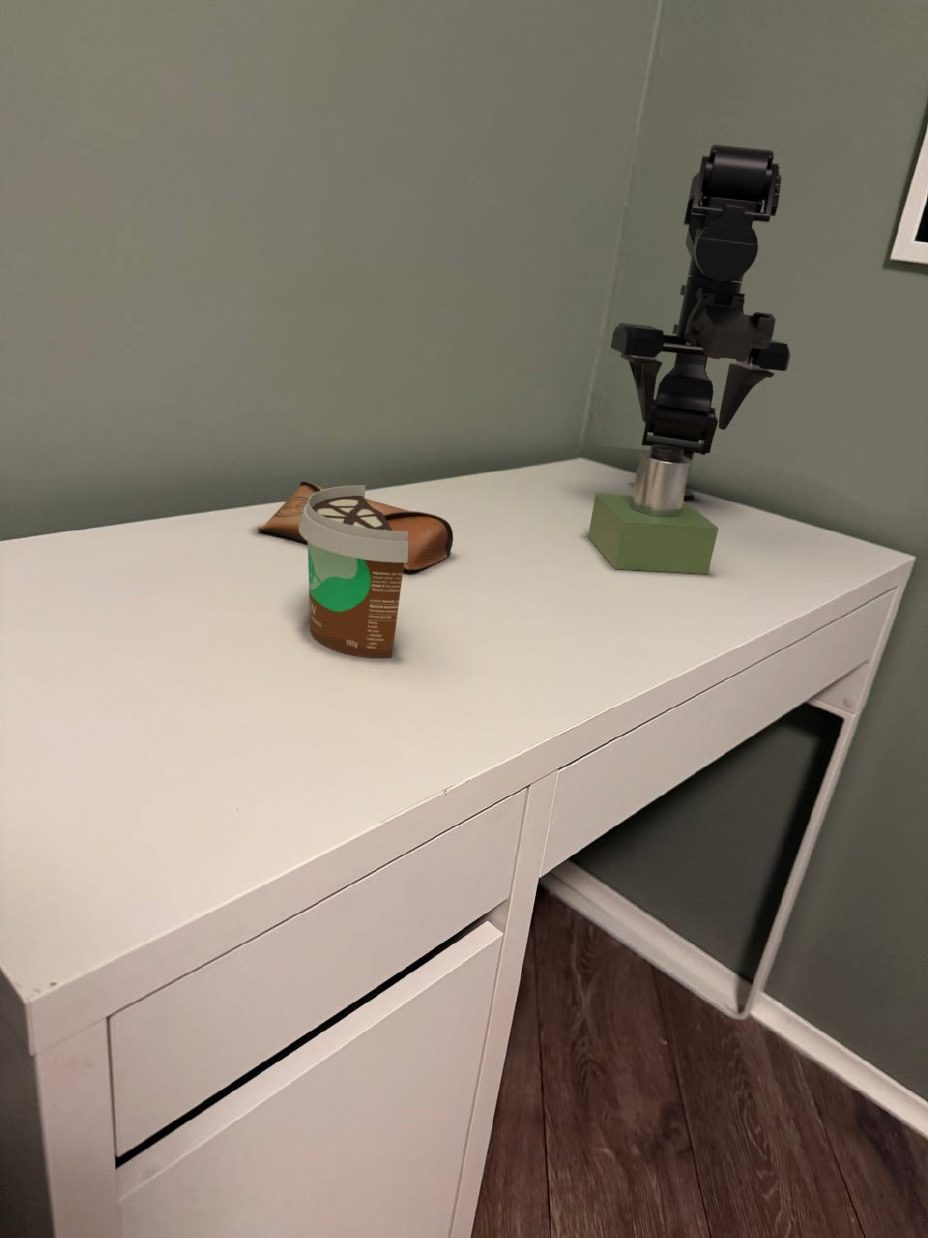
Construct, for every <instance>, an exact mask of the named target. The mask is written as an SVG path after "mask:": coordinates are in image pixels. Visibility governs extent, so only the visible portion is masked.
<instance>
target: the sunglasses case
mask: <svg viewBox="0 0 928 1238" xmlns="http://www.w3.org/2000/svg"><path fill="white" fill-rule="evenodd" d="M299 485H300V486H299V488H297V489H296V491H295V492H293V494H292V495H290V497H289V498H288V499H287V500H286V501H285V502H284V503H283V504H282V505H281V507H279V508H278V510H276V511H275V513H274V514H273V515H272V516H271V517H270V519H269V520H268V521H266V523H265V524H264V525H262V526H258V527H257V530H258V531H262V532H267V533H272V534H276V535H280V536H284V537H288V538H291V539H294V540H296V541H299V542H302V543H306V544H308V541H307V540H305V539H304V538H303V537H302V536H301V534H300V532H299V524H300V520H301V517H302V513H303V509H304V507H305V505H306V504H307V503H308V499H309V498H310V496H311V495H313V494H314V493H316V492H319V491H321V490H325V489H326V488H324V487H323V486H319V484H318V485H317V484H315V483H313V482H310V481H301V482H300V484H299ZM365 500H366V501H367V502H368V503H369V504H370V505H371V507H373V508H374V509H376V510H378V511H380V512H381V513H382V514H383V515H384V517H385V518H386V520H387V522H388V524H389V525H390V527H391V529H392V530H393V531H408V536H407V541H408V563H404V568H403V570H405V571H415V572H416V571H419V570H424V569H427V568H430V567H432V566H434V565H436V564H438V563H440V562H442V561H444V560H446V559H448V558H449V555H450V553H451V551H452V547H453V543H454V532H453V529H452V526H451V524H450V523H449V522H448V521H447V520H446V519H444V518H442V517H440V516H438V515H435V514H432V513H428V512H424V511H414V510H407V509H403V508H400V507H397V506H394V505H390V504H387V503H384V502H380V501H379V502H378V501H376V500H372V499H369V498H365Z"/></svg>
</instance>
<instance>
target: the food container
mask: <svg viewBox="0 0 928 1238" xmlns="http://www.w3.org/2000/svg"><path fill="white" fill-rule="evenodd" d="M324 489H325V490H321V491H319V492H316V493H314V494H313V495H311V496H310V498H309V499H308V503H307V504H306V505H305V507H304V509H303V513H302V517H301V520H300V524H299V532H300V534H301V536H302V537H303V538H304V539H305V540H307V541H308V543H307V564H308V567H307V569H308V601H309V603H308V604H309V630H310V634H311V636H312V637H313V638H314V639H315V640H316V641H317V643H319V644H321V645H323V646H325V647H326V648H328V649H331V650H334V651H336V652H339V653H342V654H347V655H351V656H356V657H364V658H373V659H374V658H375V659H376V658H378V659H379V658H380V659H385V658H386V659H387V658H390V659H391V658H393V653H394V644H395V636H396V629H397V622H398V613H399V607H400V599H401V598H400V597H401V591H402V584H403V583H402V582H403V575H404V569H403V568H404V563H408V541H407V536H408V531H393V530H392V529H391V527H390V525H389V524H388V522H387V520H386V518H385V517H384V515H383V514H382V513H381V512H380V511H378V510H376V509H374V508H373V507H371V505H370V504H369V503H368V502H367V501H366V500H365V499H366V485H364V484H363V485H361V484H358V485H355V484H354V485H341V486H334V487H330V488H329V487H328V488H324Z"/></svg>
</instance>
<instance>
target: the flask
mask: <svg viewBox="0 0 928 1238" xmlns="http://www.w3.org/2000/svg"><path fill="white" fill-rule="evenodd" d="M650 449H651V451H650V450H643V451H640V453H639V458H638V464H637V468H636V474H635V479H634V484H633V489H632V495H631V496H632V499H631V504H630V506H631V507H632V508H633V509H634V510H636V511H638V512H641V513H644V514H648V515H652V516H659V517H676V516H679V515H680V513H681V509H682V504H683V501H685V500H684V495H685V490H686V489H687V487H686V486H688V483H687V481H688V482H689V478H688V477H690V473H689V472H691V469H690V467H691V468H692V464H693V460H692V461H691V460H690V459H689V458H687V457H685V456H683V452H684V450H683V449H681V448H678V447H675V446H670V445H662V444H655V445H652V448H651V447H650ZM691 463H692V464H691Z"/></svg>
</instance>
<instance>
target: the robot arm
mask: <svg viewBox="0 0 928 1238" xmlns="http://www.w3.org/2000/svg"><path fill="white" fill-rule="evenodd" d="M774 157H775V153H774V151H773V150H771V149H761V148H751V147H742V146H733V145H725V144H724V145H723V144H712V145H711V147H710V149H709V155H708V156H707V155H702V156H701V160H700V166H699V171H698V172H697V174H695V175H694V176H693V177H692V179H691V180H692V181H691V185H690V189H689V195H688V200H687V204H686V210H685V215H684V220H683V226H686V227H687V233H686V239H685V247H686V248H687V251H688V253H689V256H690V258H691V259H690V263H689V268H688V274H687V278H686V283H685V285H684V284H682V285H681V287H680V292H679V295H680V296H683V298H682V304H681V309H680V313H679V318H678V324H676V323H674V324H673V328H672V334H665V333H664V330H663V329H659V328H657V327H653V326H650V325H643V324H635V323H628V322H627V323H625V322H620V323H619V324H618V325H617V326H616V327H615V328H614V329H613V332H612V336H611V343H610V349H613V350H614V351H617V352H619V353H620V358H621V359H623V360H626V361H628V363H629V368H630V370H631V373H632V376H633V379H634V384H635V388H636V393H637V399H638V403H639V409H640V414H641V419H642V422H643V423H645V424H644V429H643V434H642V440H641V446H645V447H646V446H647V447H648V446H649V447H650V450H649V451H651V448H652V445H655V444H662V445H670V446H675V447H678V448H681V449H683V450H684V452H683V456H685V457H687V458H689V459H690V460H691V461H692V463H691V465H693V460H694V455H695V454H700V455H701V456H702V455H703V456H706V454H710V453H711V450H712V445H713V441H714V438H715V434H716V432H717V428H718V429H720V430H722V431H725V430H726V429H727V427H728V426H729V425H730V423H731V421H732V420H733V418H734V417H735V415H736V414H737V411H738V410H739V409H740V407H741V405H742V404H743V402H744V401H745V399H746V398H747V396H748V395H749V394H750V392H751V391H752V390H753V388H755V386H756V385H758V384H759V383H760V382H761V381H763V380H764V379H766V378H768V379H769V378H770V379H771V378H773V377H774V375H775V374H776V373H775V372H772V370H773V371H781V372H786V371H788V367H789V364H790V359H791V351H790V348H789V345H788V343H785V342H781V341H778V340H774V339H773V336H774V333H775V332H774V331H775V326H776V318H775V316H774V315H773V314H772V313H768V312H759V311H756V312H754V313H753V314H752V315H751V314H745V313H744V306H745V302H746V300H745V297H746V294H745V293H742V292H741V289H742V286H743V281H744V277H745V274H746V273H747V272H748V271H749V270H750V269H751V268H752V266H753V264H754V263H755V261H756V258H757V255H758V251H759V243H758V242H759V241H758V237H757V234H756V231H755V230H754V228H753V223H754V222H757V223H765V224H766V223H767V224H768V223H770V220H771V217H775V216H776V214H777V211H778V207H779V201H780V194H781V186H782V179H783V177H782V176H781V174H780V168H781V167H780V166H779V163H774ZM662 352H664V353H672V354H673V353H674V354H675V357H674V363H673V367H672V368H671V369H670V371H669V372H668V373H666V374H664V376H663V378H662V379H661V380H660V382H659V384H658V387H657V391H656V385H657V384H656V383H657V377H658V374H659V372H660V370H661V367H662V365H663V362H662V361H660V360H658V355H659V354H661V353H662ZM708 358H709V359H713V360H720V359H729V360H735V361H736V363H730V362H729V364H728V369H727V373H726V379H725V385H724V390H723V394H722V399H721V405H720V410H719V417H718V418H717V413H716V407H712V405H713V404H712V403H713V399H714V385H713V382H712V379H710V378H709V376H708V374H707V371H706V369H707V363H708ZM770 370H771V371H770ZM655 392H656V395H655ZM648 433H650V434H648ZM651 433H652V435H651ZM691 468H692V466H691V467H690V470H692V469H691ZM690 472H691V471H690ZM690 472H689V474H691V473H690ZM689 477H690V476H689ZM689 477H688V479H689ZM688 483H689V480H688V481H687V484H688ZM687 486H688V485H687ZM687 486H686V490H685V495H684V499H685V500H694V499H695V497H696V495H695V494H694V493H692V492H691V491H689V490H688V489H687Z"/></svg>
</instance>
